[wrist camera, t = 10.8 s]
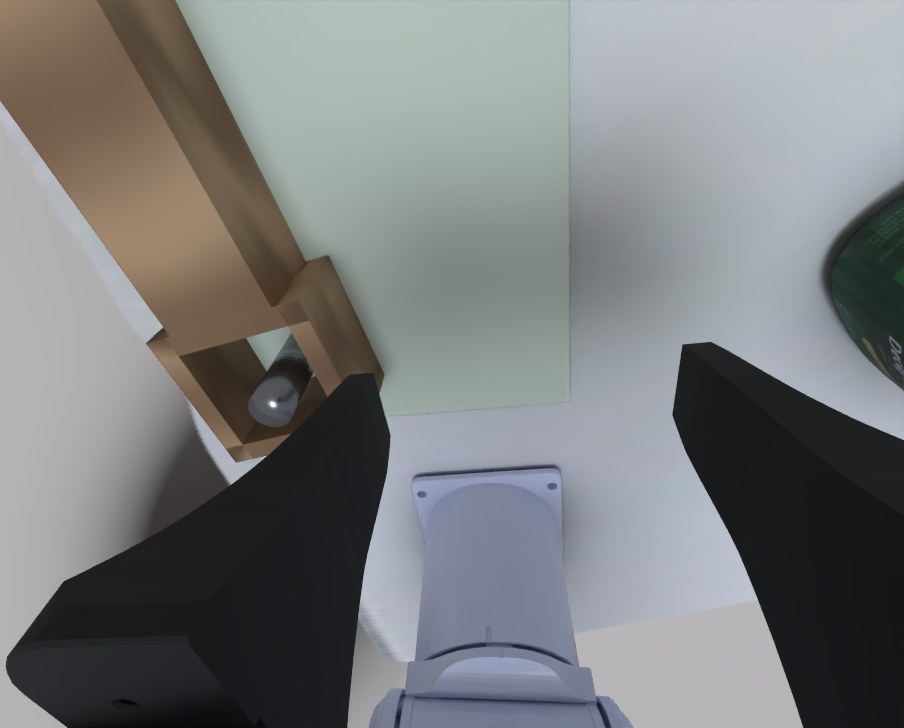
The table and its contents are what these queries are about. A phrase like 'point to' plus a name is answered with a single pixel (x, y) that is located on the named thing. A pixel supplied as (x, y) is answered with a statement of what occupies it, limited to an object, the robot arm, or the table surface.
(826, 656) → the robot arm
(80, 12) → the link
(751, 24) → the table surface
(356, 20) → the board
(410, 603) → the table surface
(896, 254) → the coffee jar
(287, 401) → the cylinder
